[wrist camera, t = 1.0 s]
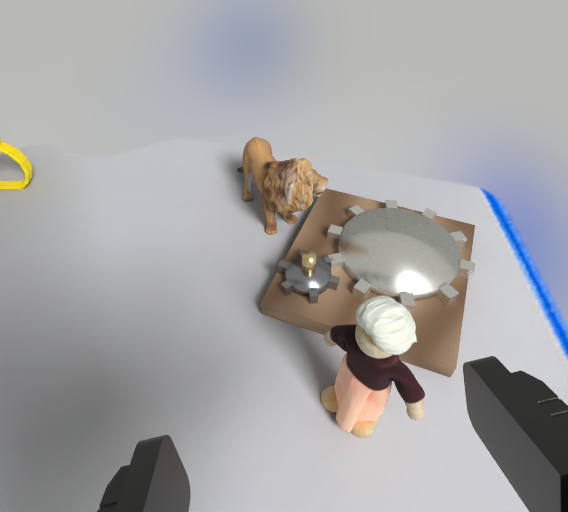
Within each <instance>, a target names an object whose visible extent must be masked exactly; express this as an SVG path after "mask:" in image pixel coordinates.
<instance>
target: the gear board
mask: <svg viewBox="0 0 568 512" xmlns="http://www.w3.org/2000/svg"><path fill="white" fill-rule="evenodd" d="M356 205H358V206H359V207H361V208H362V209H363V210H364V211H365V212H366V211H369V210H373V209H379V208H384V205H385V203H383V202H379V201H375V200H370V199H366V198H362V197H358V196H354V195H350V194H346V193H342V192H338V191H334V190H330V189H326V188H325V190H324V191H322V193H321V196H319V197H318V199H317V201H316V203H315V204H314V206H313V208H312V210H311V212H310V214H309V215H308V217H307V219H306V221H305V223H304V224H303V226H302V228H301V230H300V232H299V234H298V235H297V237H296V239H295V241H294V243H293V245H292V246H291V248H290V250H289V252H288V254H287V255H286V257H285V259H284V261H286V262H289V261H290V260H292V259H293V258H295V257H297V256H299V249H307V250H311V251H314V252H315V253H316V255H317V256H318V257H320V258H322V259H323V258H325V257H327V256H328V255H330V254H336V253H338V244H339V242H336V241H332V240H328V239H327V232H328V230H329V227H330V225H331V224H332V225H336V226H339V227H344V226H345V225H346V223H347V222H348V221H349V220H351V218H349V217H348V211H349V208H351V207H354V206H356ZM397 207H398V209H404V210H409V211H413V212H416V213H419V214H422V213H423V212H419V211H415V210H411V209H407V208H403V207H399V206H397ZM434 221H435V222H437V223H438V224H440V225H441V226H442V227H444V228H445V229H446V230H447V231H448V232H449V233H452V232H458V231H461V232H462V233H463V234H464V235H465V237H466V238H467V240H466V242H465V244H464V246H462V247H459V251H460V256H461V259H462V260H466V261H470V259H471V252H472V244H473V236H474V229H475V225H472V224H468V223H464V222H460V221H456V220H451V219H447V218H443V217H439V216H436V217H435V220H434ZM331 275H333V276H336V277H340V280H339V286H338V288H337V290H336V291H335V290H332V289H329V288H327V290H326V291H325V292H323V293H322V294H319V295H318V303H313V304H309V299H308V297H306V296H301V295H298V294H296V293H294V292H292V293H290V294H289V295H287V296H285V295H284V294H283V293H282V292H281V283H283V282H285V275H284V274H280V273H278V272H277V274H276V275H275V277H274V279H273V281H272V283H271V285H270V286H269V288H268V290H267V292H266V294H265V295H264V297H263V299H262V301H261V313H262V314H265V315H268V316H271V317H274V318H277V319H280V320H283V321H286V322H289V323H292V324H295V325H298V326H300V327H303V328H306V329H309V330H312V331H315V332H318V333H321V334H324V335H325V333H326V332H328V331H330V330H331V328H332V327H334V326H336V325H351V324H358V322H357V320H356V311H357V310H358V308H359V306H360V305H361V304H362V303H363V302H365V301H366V300H368V299H371V298H373V297H376V296H379V295H376V294H374V293H372V292H370V293H369V295H368V296H367V297H366V298H365V299H364V300H363V301H362V300H361V299H359V298H357V297H356V296H354V295H352V292H353V287H354V286H355V285H356V284H357V283H356V282H354V281H353V280H352V279H351V278H350V277H349V276H348V274H347V273H346V272H345V270H344V269H340V270H334V271H331ZM467 282H468V278H465V277H461V276H458V275H456V277H455V279H454V281H453V282H452V284H451V286H452V287H453V288H454V289H455V290H456V291H458V292H459V294H458V296H457V298H456V300H455V301H453V302H452V303H450V304H448V305H447V306H446V305H445V304H444V303H443V302H442V301H441V300H440V299H438V298H437V297H436V296H434V297H431V298H428V299H424V300H418V301H415V308H414V311H413V313H410V314H411V316H412V318H413V320H414V322H415V326H416V330H415V334H416V338H417V342H414V343H413V344H412V345H411V347H410V348H409V349H408V350H407V351H406V352H404V353H402V354H399V355H398V356H399V359H400V360H401V361H404V362H407V363H410V364H413V365H416V366H419V367H422V368H424V369H427V370H430V371H433V372H436V373H439V374H442V375H445V376H448V377H451V375H452V374H453V372H454V370H455V369H456V365H457V358H458V350H459V342H460V335H461V327H462V320H463V312H464V305H465V297H466V289H467ZM395 301H396V302H398V300H395Z"/></svg>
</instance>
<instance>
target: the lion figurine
mask: <svg viewBox="0 0 568 512" xmlns="http://www.w3.org/2000/svg"><path fill="white" fill-rule="evenodd" d="M311 167H312V163H311V162H310V161H308V160H307V159H306V158H302V159H297V158H295V159H290V160H286V161H278V162H277V161H276V160H275V159H274V157H273V156H272V150H271V146H270V144H269V143H268V141H266V140H264V139H260V138H257V137H254V138H252V140H250V141H249V142H248V143H247V144H246V146H245V148H244V153H243V167H241V168H239V169H237V171H238V172H239V173H244V176H245V180H244V192H243V196H242V198H243V200H245V201H248V200H251V199H252V198H253V196H252V193H251V176H252V174H253V177H254V181H255V183H256V185H257V187H258V189H259V190H260V192H261V193H262V198H263V203H264V211H265V217H266V230H265V231H266V233H267V234H270V235H273V234H275V233H277V228H276V227H277V224H276V221H275V218H274V216H275V211H277V212H280V214H282V215H283V218H284V220H285V221H286V222H287V223H289V224H294V223H295V222H296V221H297V217H296V216H295V215H292V213H294V212H297V211H300V210H302V211H304V210H305V209H308V207H309V206H311V204H312V202H313V196H316V197H319V196H321V193H322V191H324V190H325V188H326V185H327V183H328V179H327V178H325V177H322V176H321V175H319V174H318V173H317V172H316V171H315V170H314V169H312V168H311Z"/></svg>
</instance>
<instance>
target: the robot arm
mask: <svg viewBox="0 0 568 512" xmlns="http://www.w3.org/2000/svg"><path fill="white" fill-rule="evenodd" d="M463 374H464V383H465V393H466V402H467V410H468V414H469V417H470V420H471V423H472V425H473V427H474V429H475V431H476V433H477V434H478V436H479V437H480V439H481V440H482V442H483V443H484V445H485V446H486V448H487V449H488V451H489V452H490V454H491V455H492V457H493V458H494V460H495V461H496V463H497V464H498V466H499V467H500V469H501V470H502V472H503V473H504V475H505V476H506V477H507V479H508V480H509V482H510V483H511V485H512V486H513V488H514V489H515V491H516V492H517V494H518V495H519V497H520V498H521V500H522V501H523V503H524V504H525V506H526V507H527V509H528V510H529V512H568V406H567V405H566V404H565V403H564V402H563V401H562V400H561V399H560V400H559V398H558V396H557V395H556V394H555V393H554V392H553V391H552V390H551V389H550V388H549V387H548V386H547V385H546V384H545V383H544V382H543V381H541V380H539V379H537V378H535V377H533V376H531V375H529V374H527V373H525V372H523V371H518V372H514V373H510V372H509V371H508V370H507V369H506V367H505V366H504V365H503V364H502V363H501V362H500V361H499V360H498V359H497V358H496V357H494V356H490V357H486V358H482V359H478V360H474V361H470V362H466V363H464V365H463ZM189 505H190V485H189V479H188V476H187V473H186V471H185V469H184V467H183V464H182V462H181V460H180V457H179V455H178V453H177V451H176V448H175V446H174V444H173V441H172V439H171V438H170V436H168V435H164V436H160V437H156V438H151V439H147V440H143V441H140V442H139V443H138V444H137V446H136V448H135V451H134V454H133V457H132V460H131V463H130V465H128V466H124V467H121V468H120V469H119V471H118V472H117V473H116V475H115V476H114V477H113V479H112V480H111V481H110V483H109V484H108V485H107V488H106V490H105V493H104V495H103V498H102V501H101V503H100V510H98V511H97V512H188V511H189Z"/></svg>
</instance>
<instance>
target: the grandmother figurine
mask: <svg viewBox="0 0 568 512" xmlns="http://www.w3.org/2000/svg"><path fill="white" fill-rule="evenodd" d="M356 320H357V322H358V324H351V325H336V326H334V327H332V328H331V330H330V331H328V332H326V333H325V335H324V342H325V343H326V344H327V345H328V346H334V345H336V344H337V345H338V346H340V347H341V348H342V349H343V350H344V351H346V352H347V353H346V354H345V355H344V357H343V360H342V362H341V366H340V369H339V372H338V374H337V377H336V380H335V384H334V385H333V386H330V387H327V388H325V389H324V390H323V391H322V393H321V402H322V404H323V406H324V407H325V408H326V409H327V410H328V411H331V412H337V414H336V420H337V422H338V424H339V426H340V427H341V428H342V429H343V430H345V431H346V432H352V433H353V434H354V435H356V436H357V437H361V438H366V437H368V436H370V435H371V434H372V432H373V431H374V429H375V427H376V425H377V423H378V421H379V419H380V415H381V414H382V412H383V411H384V409H385V407H386V404H387V401H388V398H389V394H390V390H391V385H392V381H394V383H395V385H396V388H397V390H398V392H399V394H400V395H401V397H402V398H403V400H404V401H405V404H406V406H407V414H408V416H409V417H410V418H411V419H414V420H419V419H421V418H423V416H424V414H425V411H424V407H423V406H422V405H423V398H424V396H425V393H424V391H423V389H422V387H421V386H420V385H419V383H418V382H417V380H416V378H415V377H414V375H413V374H412V372H411V371H410V370H409V368H408V367H407V366H406V365H405V364H404V363H402V362H401V360H400V359H399V356H398V355H399V354H402V353H404V352H406V351H407V350H408V349H409V348H410V347H411V345H412V344H413V343H414V342H417V338H416V334H415V330H416V326H415V322H414V320H413V318H412V316H411V314H410V312H409V311H408V310H407V309H406V308H405V307H404V306H403V305H402V304H400V303H398V302H396V301H395V300H394V299H393V298H391V297H388V296H376V297H373V298H371V299H368V300H366V301H365V302H363V303H362V304H361V305H360V306H359V308H358V310H357V311H356Z"/></svg>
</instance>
